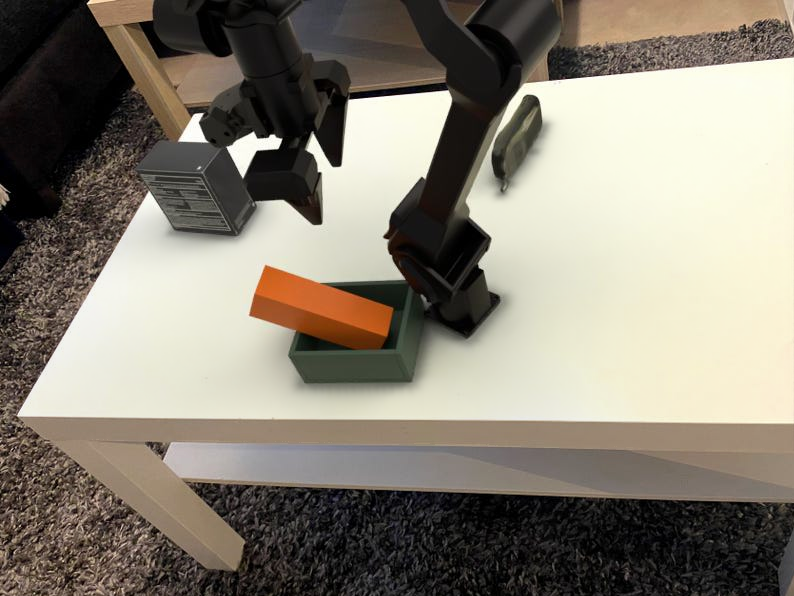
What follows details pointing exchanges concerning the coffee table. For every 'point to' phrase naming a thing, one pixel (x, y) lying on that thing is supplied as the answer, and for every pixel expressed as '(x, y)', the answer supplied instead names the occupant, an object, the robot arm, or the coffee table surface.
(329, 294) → the orange rectangular block
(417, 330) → the bin
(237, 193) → the small box
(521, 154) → the olive green elongated pouch
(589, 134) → the coffee table surface
